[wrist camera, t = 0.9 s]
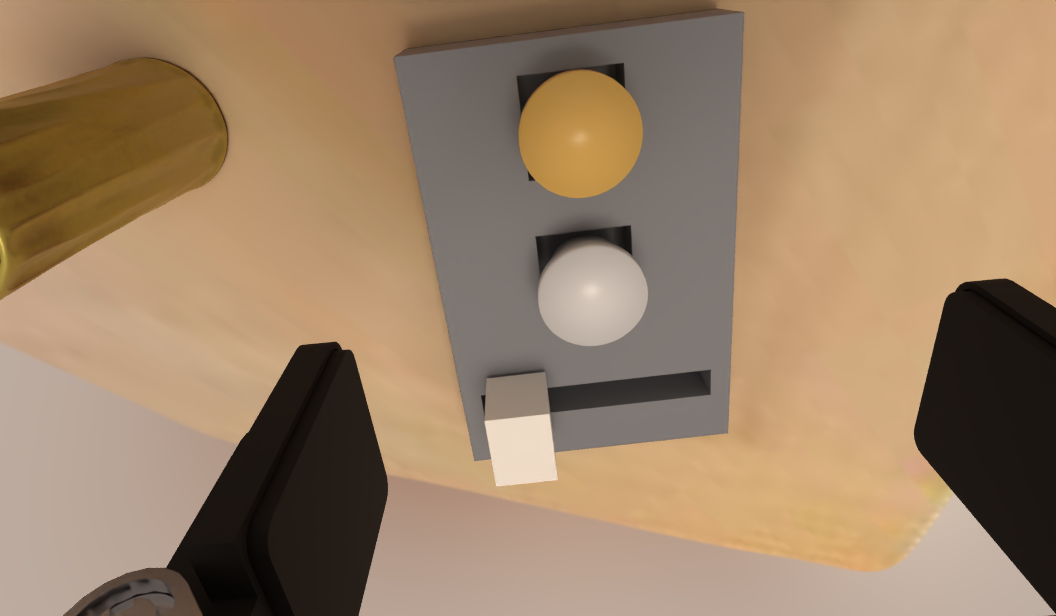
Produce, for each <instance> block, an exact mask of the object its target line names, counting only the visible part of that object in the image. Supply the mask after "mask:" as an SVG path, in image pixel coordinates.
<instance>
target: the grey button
mask: <svg viewBox="0 0 1056 616" xmlns="http://www.w3.org/2000/svg"><path fill="white" fill-rule="evenodd" d="M647 300H648V287H647V283H646V279H645V277H644V275H643V272H642V270H641V268H640V266H639V264H638V263H637V261H636V260H635V259H634V258H633V256H632V255H631V254H629V253H628V252H627V251H626V250H624V249H623V248H621V247H619V246H617V245H615V244H612V243H611V242H609V241H608V240H606V239H604V238H602V237H599V236H594V235H580V236H576V237H573V238H571V239H568V240H567V241H565V242H564V243H562V244H561V245H560V246H559V247H558V248H557V249H556V250H555V252H554V253H553V255H552V256H551V259H550V261H549V262H548V264H547V265H546V266H545V268H544V270H543V271H542V274H541V276H540V279H539V283H538V304H539V310H540V313H541V316H542V318H543V320H544V322H545V324H546V325H547V327H548V328H549V329H550V330H551V331H552V332H553V333H554V334H555V335H557V336H558V337H560V338H561V339H563V340H565V341H567V342H569V343H573V344H576V345H581V346H598V345H604V344H607V343H611V342H613V341H616V340H618V339H619V338H621V337H623V336H624V335H626V334H627V333H629V332H630V331H631V330H632V329H633V328H634V327H635V326H636V325H637V323H638V322H639V321H640V319H641V318H642V316H643V314H644V312H645V309H646V306H647Z"/></svg>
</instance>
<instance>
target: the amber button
mask: <svg viewBox="0 0 1056 616" xmlns="http://www.w3.org/2000/svg"><path fill="white" fill-rule="evenodd" d="M518 135H519V147H520V153H521V156H522V159H523V162H524V164H525V166H526V168H527V170H528V171H529V173H530V174H531V176H532V177H533V178H534V179H535V180H536V181H537V182H538V183H539V184H540V185H541V186H543V187H544V188H546V189H547V190H549V191H551V192H553V193H555V194H558V195H561V196H565V197H570V198H586V197H592V196H596V195H599V194H601V193H604V192H606V191H608V190H610V189H611V188H613V187H614V186H616V185H617V184H618V183H620V182H621V181H622V180H623V179H624V178H625V177H626V176H627V174H628V173H629V172H630V171H631V169H632V168H633V166H634V164H635V162H636V160H637V158H638V156H639V153H640V150H641V146H642V140H643V125H642V119H641V115H640V112H639V109H638V107H637V105H636V103H635V101H634V99H633V98H632V96H631V95H630V94H629V92H628V91H627V90H626V89H625V88H624V87H623V86H622V85H620V84H619V83H618V82H617V81H615V80H614V79H613V78H611V77H609V76H607V75H605V74H603V73H600V72H597V71H593V70H585V69H578V70H570V71H565V72H562V73H559V74H557V75H555V76H553V77H551V78H549V79H548V80H546V81H545V82H543V83H542V84H541V85H540V86H539V87H538V88H537V89H536V90H535V91H534V92H533V93H532V95H531V96H530V98H529V99H528V101H527V102H526V104H525V106H524V108H523V111H522V114H521V117H520V122H519V131H518Z"/></svg>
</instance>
